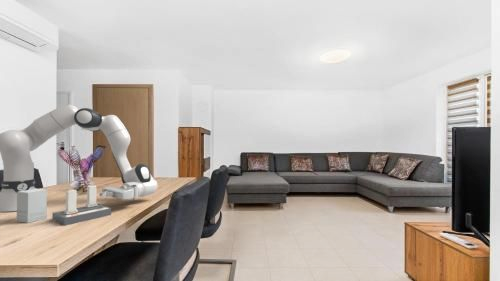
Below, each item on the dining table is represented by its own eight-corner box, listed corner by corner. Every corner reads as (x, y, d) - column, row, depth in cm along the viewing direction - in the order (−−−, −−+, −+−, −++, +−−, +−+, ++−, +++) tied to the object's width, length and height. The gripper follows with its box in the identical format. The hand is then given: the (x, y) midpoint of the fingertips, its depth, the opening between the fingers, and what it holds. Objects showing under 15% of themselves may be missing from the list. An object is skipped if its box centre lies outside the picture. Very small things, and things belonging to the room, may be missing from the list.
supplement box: (47, 218, 105) (47, 189, 106) (26, 223, 98) (27, 192, 99) (36, 216, 108) (36, 188, 108) (15, 221, 101) (16, 191, 101)
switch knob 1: (64, 213, 101) (64, 191, 101) (75, 211, 105) (75, 189, 105) (66, 214, 100) (67, 191, 100) (77, 212, 103) (78, 190, 103)
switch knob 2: (85, 206, 112) (86, 186, 112) (95, 204, 116) (95, 185, 116) (88, 207, 111) (88, 186, 111) (97, 205, 114) (97, 185, 114)
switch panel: (52, 219, 103) (52, 211, 103) (97, 210, 118) (97, 203, 118) (64, 225, 96) (64, 217, 96) (110, 214, 111) (111, 207, 111)
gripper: (118, 182, 134) (91, 186, 123) (139, 186, 123) (111, 191, 111) (118, 194, 134) (91, 198, 123) (139, 199, 123) (111, 204, 111)
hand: (101, 195), depth 117 cm, fingers closed
